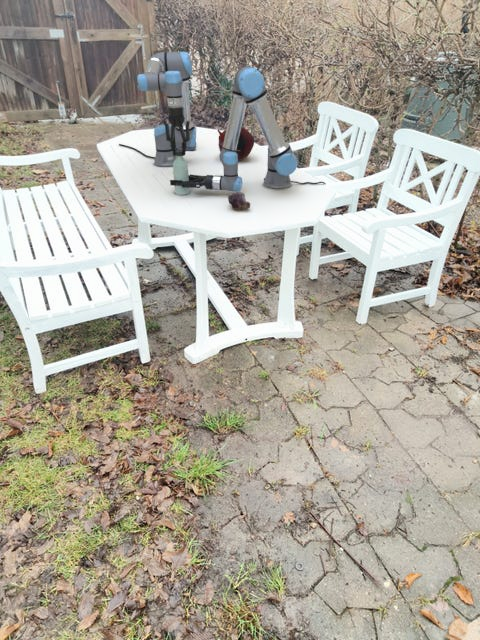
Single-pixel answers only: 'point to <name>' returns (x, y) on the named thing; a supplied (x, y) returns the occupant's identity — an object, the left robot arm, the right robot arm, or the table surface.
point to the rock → (238, 201)
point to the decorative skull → (240, 143)
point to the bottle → (181, 174)
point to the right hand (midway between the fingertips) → (173, 180)
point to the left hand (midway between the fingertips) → (179, 154)
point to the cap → (178, 153)
